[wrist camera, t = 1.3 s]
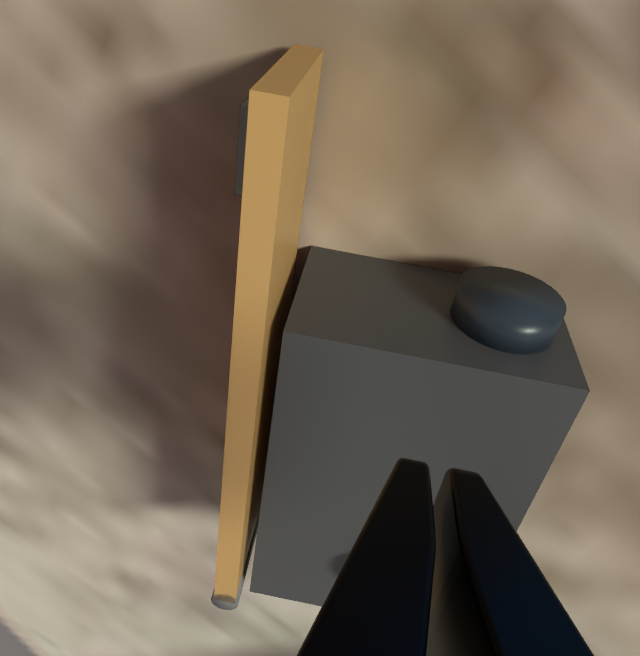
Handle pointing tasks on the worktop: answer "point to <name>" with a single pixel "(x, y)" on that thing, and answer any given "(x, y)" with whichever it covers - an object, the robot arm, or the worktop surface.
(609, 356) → the worktop surface
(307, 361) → the action camera body
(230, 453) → the side door
